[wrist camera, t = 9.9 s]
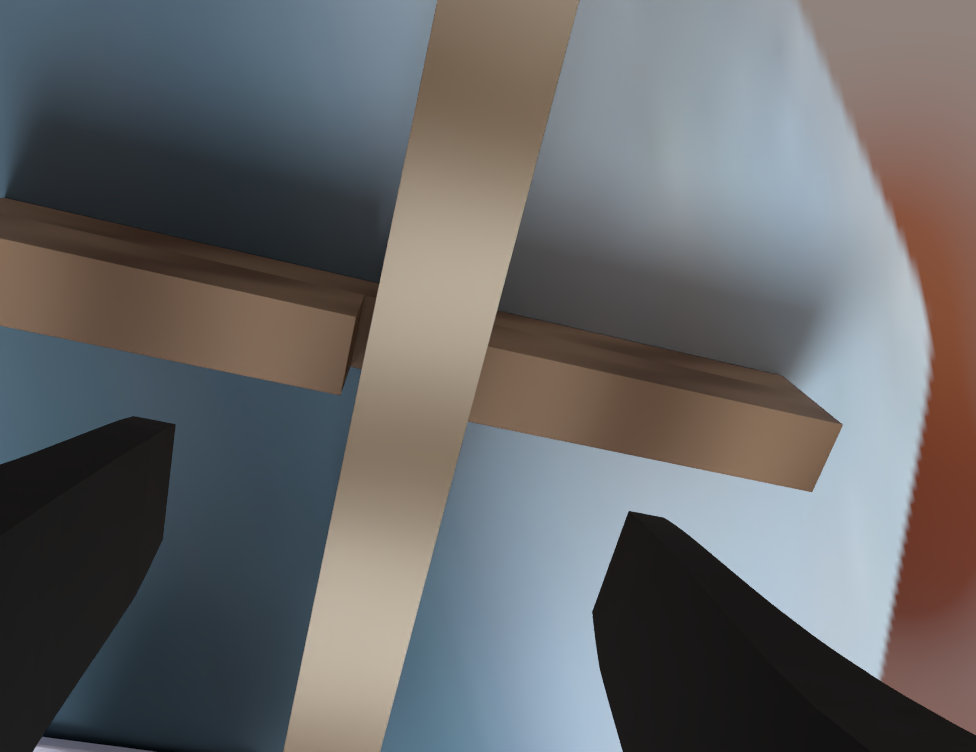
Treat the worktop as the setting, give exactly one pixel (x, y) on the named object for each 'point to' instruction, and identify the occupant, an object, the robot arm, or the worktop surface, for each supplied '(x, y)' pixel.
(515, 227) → the cross piece
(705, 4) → the worktop surface
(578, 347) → the walnut stand
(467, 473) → the worktop surface
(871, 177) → the worktop surface
